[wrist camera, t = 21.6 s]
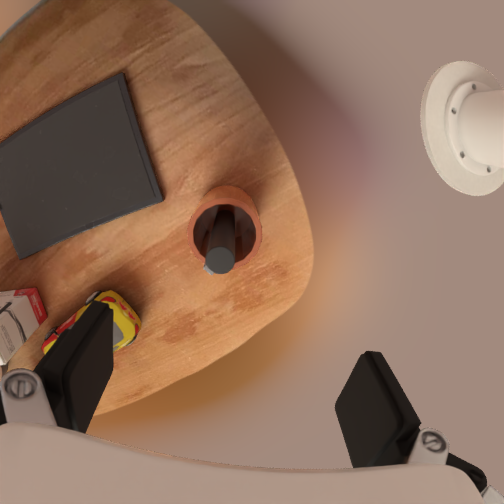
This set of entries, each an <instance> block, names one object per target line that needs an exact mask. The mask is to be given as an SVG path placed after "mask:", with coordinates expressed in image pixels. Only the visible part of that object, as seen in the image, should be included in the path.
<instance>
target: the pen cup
mask: <svg viewBox="0 0 504 504" xmlns="http://www.w3.org/2000/svg"><path fill="white" fill-rule="evenodd" d="M224 209H227V210H230V211H231V212H232V213H233V214H234V216H235V264H234V267H233V268H232V269H236V268H238V267H240V266H243V265H245V264H247V263H248V262H249V261H250V260H251V259H252V258H253V257H254V256H255V255H256V254H257V252H258V250H259V247H260V245H261V242H262V225H261V222H260V219H259V216H258V213H257V210H256V207H255V205H254V203H253V201H252V199H251V197H250V196H249V195H248V194H247V193H246V192H245V191H243V190H242V189H240V188H238V187H234V186H226V185H225V186H219V187H216V188H214V189H212V190H210V191H209V192H208V193H207V194H206V195H205V196H204V197H203V198H202V199H201V201H200V202H199V204H198V206H197V208H196V209H195V211H194V213H193V215H192V216H191V219H190V222H189V225H188V228H187V235H188V244H189V246H190V248H191V250H192V252H193V254H194V255H195V257H196V258H198V259H199V260H200V261H201V262H202V263H205V258H206V253H207V249H208V245H209V241H210V237H211V233H212V229H213V225H214V221H215V217H216V214H217V213H218V212H219V211H220V210H224Z"/></svg>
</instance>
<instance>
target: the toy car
mask: <svg viewBox="0 0 504 504" xmlns="http://www.w3.org/2000/svg"><path fill="white" fill-rule="evenodd" d="M93 300H97V301H100V302H104V303H108V304H109V308H111V309H113V311H114V316H113V352H115V351H117V350H118V349H120V348H122V347H125V346H128V345H130V344H132V343H133V342H134V340H135V339H136V337H137V334H138V332H139V331H140V329H141V322H140V319H139V317H138V315H137V314H136V313H135V312H134V310H133V309H132V308H131V307H130V306H129V304H128V303H127V302H126V301H125V300H124V299H123V298H122V297H121V296H120V295H118V294H117V293H115V292H113V291H111V290H110V291H107V292H101V291H97V292H94V293H93V294H92V295H91V296H90V297H89V298H88V299H87V300H86V302H85V305H84V306H83V307H82V308H81V309H79V310H78V311H77V312H76V313H75V314H73V315H72V316H71V317H70V318H69V319H68V320H67V321H65V322H64V323H63V324H62V325H60V326H59V327H58V328H57V327H54V328H52V329H51V330H50V331H49V332H48V333H47V334H46V337H45V341H44V343H43V345H42V347H41V349H42V351H43V353H44V354H46V353H47V352H48V350H49V349H50V348H51V346H52V345H53V344H54V342H55V341H56V340H57V338H58V337H59V336H60V334H61V333H62V332H63V331H64V330H65V329H67V328H68V329H71V328H72V327H73V325H74V324H75V323H76V321H77V320H78V319H79V318H80V316H81V315H82V314H83V312H84V311H85V310H86V309H87V307H88V306H89V305H90V304H91V302H92V301H93Z"/></svg>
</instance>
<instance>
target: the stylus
mask: <svg viewBox="0 0 504 504" xmlns="http://www.w3.org/2000/svg"><path fill="white" fill-rule="evenodd" d="M234 264H235V216H234V214H233V213H232V212H231V211H230V210H227V209H224V210H220V211H219V212H218V213H217V214H216V217H215V221H214V225H213V229H212V233H211V237H210V241H209V245H208V249H207V253H206V258H205V263H204V268H203V269H204V270H206V271H207V272H208V273H209V274H211V275H213V274H214V273H217V274H224V273H227V272H229V271H230V270H231V269H232V268H233V267H234Z"/></svg>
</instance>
